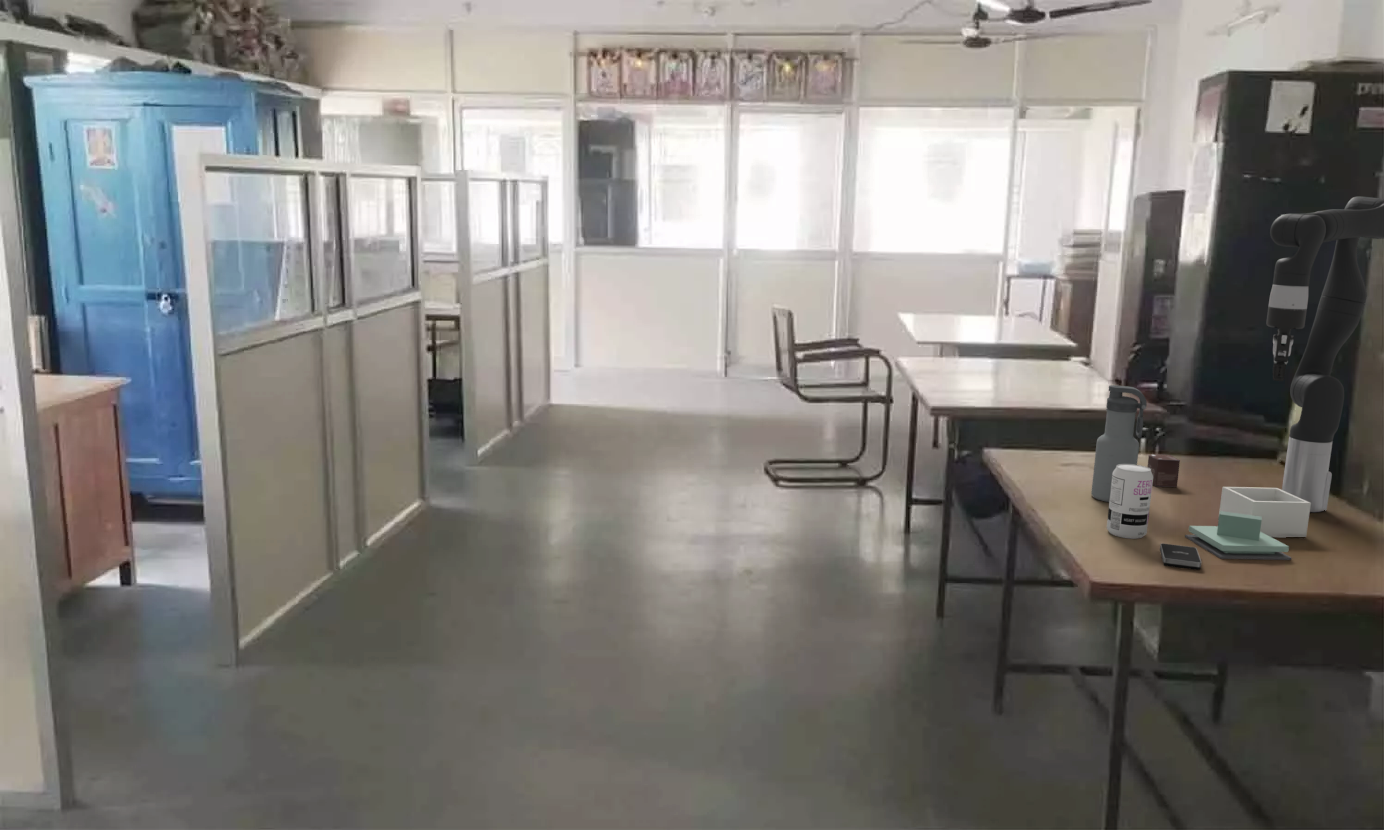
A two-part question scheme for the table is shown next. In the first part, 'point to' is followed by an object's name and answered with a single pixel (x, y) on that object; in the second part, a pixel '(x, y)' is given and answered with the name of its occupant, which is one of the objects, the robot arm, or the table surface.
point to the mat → (1235, 555)
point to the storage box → (1269, 509)
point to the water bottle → (1117, 438)
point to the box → (1164, 470)
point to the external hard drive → (1180, 556)
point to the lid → (1239, 535)
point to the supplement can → (1129, 501)
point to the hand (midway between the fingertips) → (1277, 378)
